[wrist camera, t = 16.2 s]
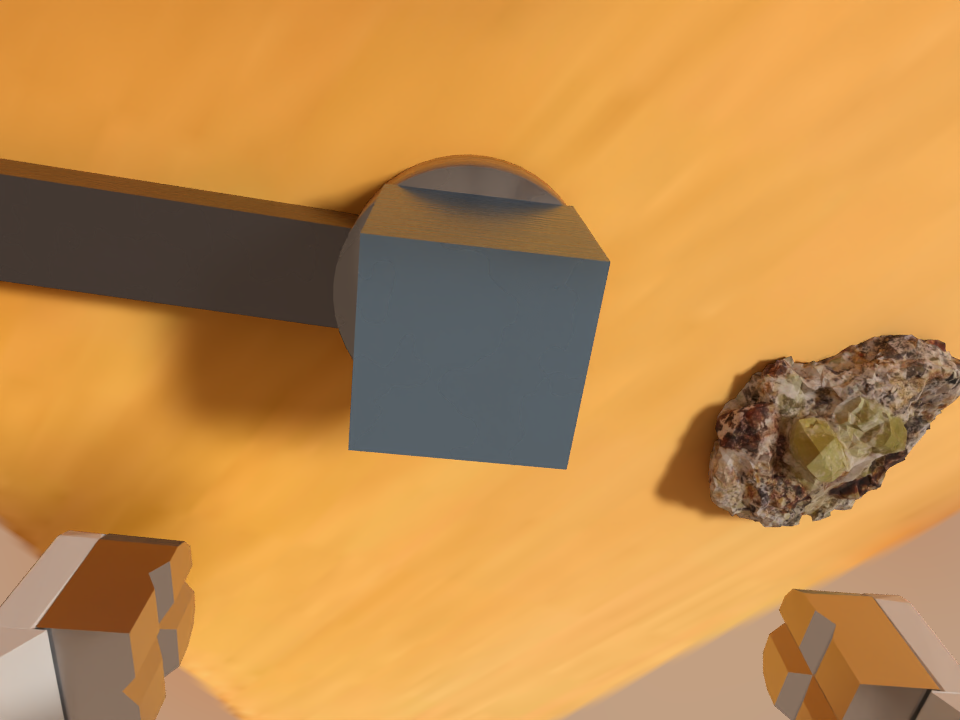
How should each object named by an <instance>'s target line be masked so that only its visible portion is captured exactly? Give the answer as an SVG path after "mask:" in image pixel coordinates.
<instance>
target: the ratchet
mask: <svg viewBox="0 0 960 720" xmlns="http://www.w3.org/2000/svg"><path fill="white" fill-rule="evenodd" d="M386 184H392V185H400V186H408V187H417V188H425V189H433V190H441V191H450V192H458V193H466V194H475V195H483V196H491V197H500V198H508V199H516V200H524V201H533V202H541V203H549V204H558V205H566V204H565V203H564V202H563V200H562V199H561V198H560V196H559V195H558V194H557V193H556V192H555V191H554V190H553V189H552V188H551V187H550V186H549V185H548V184H546V183H545V182H544V181H542V180H541V179H540V178H538V177H537V176H536V175H534V174H532V173H531V172H529V171H527V170H525V169H523V168H522V167H520V166H517V165H515V164H512V163H509V162H507V161H504V160H500V159H496V158H492V157H488V156H478V155H452V156H446V157H440V158H435V159H432V160H429V161H426V162H422V163H419V164H417V165H415V166H413V167H411V168H409V169H407V170H405V171H403V172H402V173H400V174H398V175H397V176H395V177H394V178H392V179H391V180H390V181H388V182H387V183H386ZM382 188H383V187H382ZM382 188H380V189H379V190H378V191H377V192H376V193H375V195H374V196H373V197H372V198H371V199H370V200H369V201H368V203H367V204H366V205H365V207H364V209H363V210H362V212H361V213H360V215H357V214H351V213H345V212H338V211H332V210H325V209H319V208H313V207H306V206H300V205H294V204H287V203H281V202H274V201H268V200H262V199H255V198H249V197H243V196H236V195H230V194H223V193H217V192H211V191H204V190H198V189H191V188H185V187H179V186H172V185H166V184H160V183H153V182H147V181H140V180H134V179H128V178H121V177H115V176H109V175H102V174H96V173H89V172H83V171H77V170H70V169H64V168H58V167H51V166H45V165H38V164H32V163H26V162H19V161H13V160H7V159H0V281H6V282H13V283H20V284H27V285H34V286H42V287H49V288H56V289H63V290H70V291H77V292H84V293H91V294H98V295H106V296H113V297H120V298H127V299H134V300H141V301H148V302H155V303H162V304H169V305H177V306H184V307H191V308H198V309H205V310H212V311H219V312H226V313H233V314H240V315H248V316H255V317H262V318H269V319H276V320H283V321H290V322H297V323H304V324H311V325H319V326H326V327H333V328H339V332H340V334H341V337H342V339H343V342H344V344H345V346H346V348H347V350H348V352H349V353H350V355H351V357H352V358H354V339H355V321H356V303H357V284H358V266H359V248H360V233H361V231H362V229H363V227H364V225H365V223H366V220H367V218H368V216H369V214H370V212H371V210H372V208H373V206H374V204H375V202H376V200H377V198H378V196H379V194H380V192H381V190H382ZM566 206H567V205H566Z"/></svg>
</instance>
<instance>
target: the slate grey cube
mask: <svg viewBox="0 0 960 720" xmlns="http://www.w3.org/2000/svg"><path fill="white" fill-rule="evenodd" d="M609 266H610V261H609V259H608V258H607V256H606V255H605V253H604V252H603V250H602V249H601V247H600V246H599V244H598V243H597V241H596V240H595V238H594V237H593V235H592V234H591V232H590V231H589V229H588V228H587V226H586V225H585V223H584V222H583V220H582V219H581V218H580V216H579V215H578V213H577V212H576V210H575V209H574V207H573V206H566V205H558V204H549V203H541V202H533V201H524V200H516V199H508V198H500V197H491V196H483V195H475V194H466V193H458V192H450V191H441V190H433V189H425V188H417V187H408V186H400V185H392V184H384V186H383V188H382V190H381V192H380V194H379V196H378V198H377V200H376V202H375V204H374V206H373V208H372V210H371V212H370V214H369V216H368V218H367V220H366V223H365V225H364V227H363V229H362V231H361V233H360V248H359V266H358V284H357V303H356V321H355V339H354V358H353V376H352V394H351V413H350V431H349V449H348V450H355V451H366V452H378V453H389V454H400V455H411V456H422V457H433V458H444V459H455V460H466V461H478V462H489V463H500V464H511V465H522V466H533V467H544V468H555V469H567V465H568V460H569V455H570V450H571V446H572V441H573V436H574V431H575V427H576V422H577V417H578V412H579V408H580V403H581V398H582V394H583V389H584V384H585V379H586V375H587V370H588V365H589V360H590V356H591V351H592V346H593V341H594V337H595V332H596V327H597V323H598V318H599V313H600V308H601V304H602V299H603V294H604V289H605V285H606V280H607V275H608V270H609Z"/></svg>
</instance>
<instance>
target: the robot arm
mask: <svg viewBox="0 0 960 720" xmlns="http://www.w3.org/2000/svg"><path fill="white" fill-rule="evenodd" d="M191 567H192V558H191V549H190V545H189V544H187V543H186V542H185V541H176V540H166V539H156V538H146V537H136V536H127V535H117V534H107V535H106V534H99V533H89V532H80V531H70V530H69V531H67V532H65V533H63V534H61V535H59V536H57V537H56V538H55V540H54V541H53V542H52V543H51V544H50V546H49V547H48V548H47V549H46V551H45V552H44V553H43V554H42V556H41V557H40V558H39V559H38V560H37V562H36V563H35V564H34V565H33V567H32V568H31V569H30V570H29V572H28V573H27V574H26V575H25V577H24V578H23V579H22V580H21V581H20V583H19V584H18V585H17V586H16V588H15V589H14V590H13V591H12V593H11V594H10V595H9V596H8V597H7V599H6V600H5V601H4V602H3V604H2V605H1V606H0V720H155V719H156V717H157V715H158V713H159V710H160V708H161V706H162V704H163V702H164V699H165V697H166V692H165V681H164V677H165V676H167V675H168V674H169V673H171V672H172V671H173V670H175V669H176V668H178V667H179V666H180V664H181V661H182V659H183V657H184V654H185V652H186V650H187V647H188V644H189V640H190V636H191V632H192V628H193V624H194V614H195V595H194V591H193V590H192V589H191V588H190V587H189V585H188V584H187V583H186V582H185V579H186V577H187V575H188V573H189V571H190V569H191ZM779 611H780V613H781V615H782V617H783V619H784V622H785V623H784V624H783V625H781V626H780V627H779V628H777V629H776V630H774V631H773V632H772V633H770V634H769V637H768V640H767V643H766V646H765V648H764V652H763V674H764V678H765V683H766V687H767V690H768V692H769V695H770V696H771V699H772V701H773V704H774V706H775V707H777V708H778V709H779V710H780V711H781V712H782V713H783V714H785V715H786V716H787V717H788V718H789V719H790V720H960V665H959V664H958V662H957V661H956V660H955V659H954V657H953V656H952V655H951V654H950V652H949V651H948V650H947V649H946V647H945V646H944V645H943V643H942V642H941V641H940V640H939V638H938V637H937V636H936V635H935V633H934V632H933V631H932V630H931V628H930V627H929V626H928V624H927V623H926V622H925V620H924V619H923V618H922V617H921V615H920V614H919V613H918V612H917V610H916V609H915V608H914V606H913V605H912V604H911V603H910V602H909V601H907V600H906V599H904V598H903V597H901V596H899V595H882V594H865V593H864V594H856V593H841V592H828V591H814V590H800V589H792V590H791V591H790V592H789V593H788V594H787V595H786V596H785V597H784V600H783V602H782V604H781V607H780V609H779Z"/></svg>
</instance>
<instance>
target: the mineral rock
mask: <svg viewBox="0 0 960 720" xmlns="http://www.w3.org/2000/svg"><path fill="white" fill-rule="evenodd" d="M959 396H960V360H959V359H956V358H954V357H952V356H951V354H950V352H949V351H948V352H946V350H945V343H943V342H941V341H939V340H925V341H924V340H921V339H917V338H916V337H914V336H913V335H895V336H893V335H889V336H880V337H873V338H871V339H869V340H867V341H865V342H863V343H860V344H858V345H851V346H849V347H847V348H846V349H844V350H842V351H841V352H840V353H839V354H837V355H836V356H833V357H830V358H827V359H824V360H822V361H820V362H815V361H812V362H810V363H807V364H803V363H794V361H793V359H792V357H791V356H790V357H787V358H785V359H781V360H776V363H774V364H768V365H767V366H766V367H765V369H764V370H763V372H757V373H755V374H754V375H752V378H751V380H750V381H749V382H748V383H747V384H746V385H745V387H744V388H743V389H742V390H741V391H740V392H739V393H738V395H737V397H736V398H735V399H733V400H730V401H729V402H728V403H726V404H725V406H724V408H723V409H722V411H721V412H720V414H719V415H718V417H717V423H716V432H717V435H718V438H719V439H718V440H716V441H715V442H714V448H713V451H712V452H711V454H710V458H711V460H710V464H709V469H710V470H709V473H708V475H709V483H710V497H711V500H712V502H714V503H715V504H716V505H717V506H718V507H720V508H723V509H724V510H727V511H728V512H729V513H730V514H731V516H733V515H735V514H737V515H738V516H739V517H742V518H746V519H751V520H754V521H757V522H760V523H761V524H762V525H763V526H764V527H781V526H794V525H797V524H799V520H800V518H801V516H802V515H806V514H807V515H810V516H811V517H812V521H817V520H821V519H824V518H826V517H829V516H830V512H831V511H832V510H834V509H836V510H847V509H851V508H852V506H853V504H854V502H855V500H857V499H859V498H861V497H862V496H863V495H864V494H865V493H866V492H868V491H870V490H875V489H877V488H879V487H881V484H882V481H883V479H884V477H885V473H886V471H887V470H888V469H889V468H890V467H892V466H893V465H895V464H897V463H899V462H901V461H904V460H905V457H906V456H907V455H908V453H909V452H910V450H911V449H912V447H913V446H914V445H915V444H916V443H917V442H918V441H919V440H920V439H921V437H922V436H923V435H924V434H925V432H926V430H927V429H930V422H932V421H933V420H934V419H935V417H936V415H938V414H940V413H941V410H943V409H944V408H946V407H947V406H948V405H950V404H951V403H952V402H953V401H955V400H956V399H957V398H958V397H959Z"/></svg>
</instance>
